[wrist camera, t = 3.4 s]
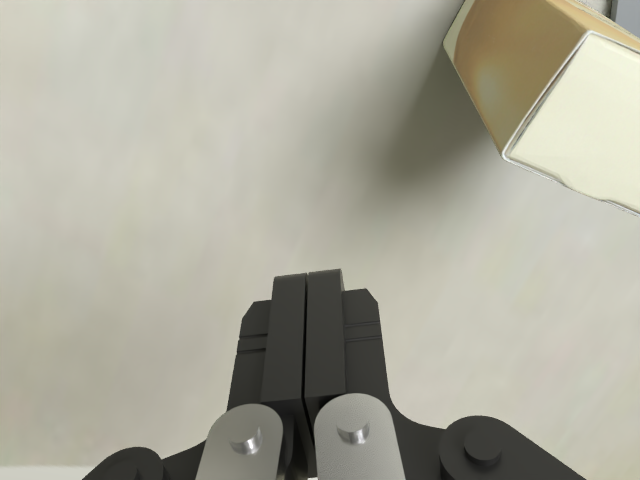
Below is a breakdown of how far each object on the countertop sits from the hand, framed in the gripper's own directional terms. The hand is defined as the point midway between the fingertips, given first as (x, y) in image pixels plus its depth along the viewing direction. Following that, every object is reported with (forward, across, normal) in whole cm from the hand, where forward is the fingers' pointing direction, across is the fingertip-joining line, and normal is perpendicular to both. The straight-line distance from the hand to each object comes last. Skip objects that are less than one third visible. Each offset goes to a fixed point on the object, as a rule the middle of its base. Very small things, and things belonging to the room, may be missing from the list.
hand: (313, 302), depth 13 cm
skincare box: (+18, -10, 0) cm, 20 cm away
